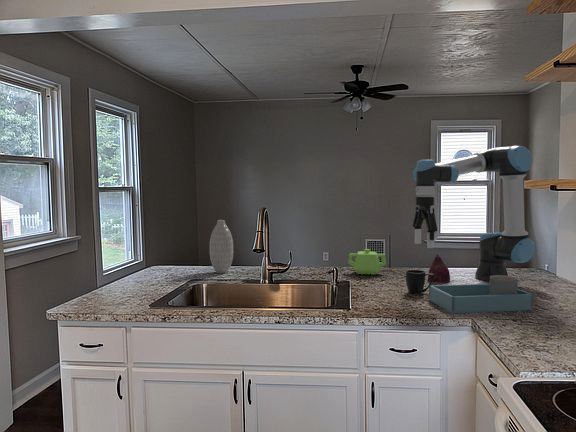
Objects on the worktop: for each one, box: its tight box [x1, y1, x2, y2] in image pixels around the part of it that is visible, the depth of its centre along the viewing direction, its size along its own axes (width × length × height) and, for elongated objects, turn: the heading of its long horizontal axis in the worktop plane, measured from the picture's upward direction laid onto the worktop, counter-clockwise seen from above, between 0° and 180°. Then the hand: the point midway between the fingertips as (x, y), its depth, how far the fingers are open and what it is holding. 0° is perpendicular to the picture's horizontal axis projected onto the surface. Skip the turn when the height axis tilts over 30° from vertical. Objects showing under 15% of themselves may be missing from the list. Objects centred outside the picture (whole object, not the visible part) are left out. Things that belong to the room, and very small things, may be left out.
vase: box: [209, 219, 234, 274], centre depth 255 cm, size 13×13×28 cm
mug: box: [405, 269, 434, 295], centre depth 206 cm, size 8×12×10 cm
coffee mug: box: [489, 275, 519, 295], centre depth 186 cm, size 13×10×10 cm
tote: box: [428, 283, 534, 314], centre depth 186 cm, size 32×20×6 cm, turn 97°
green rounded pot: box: [347, 248, 387, 276], centre depth 253 cm, size 18×20×13 cm
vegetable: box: [427, 253, 451, 284], centre depth 231 cm, size 10×10×15 cm
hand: (424, 245), depth 204 cm, fingers open, 13 cm apart
